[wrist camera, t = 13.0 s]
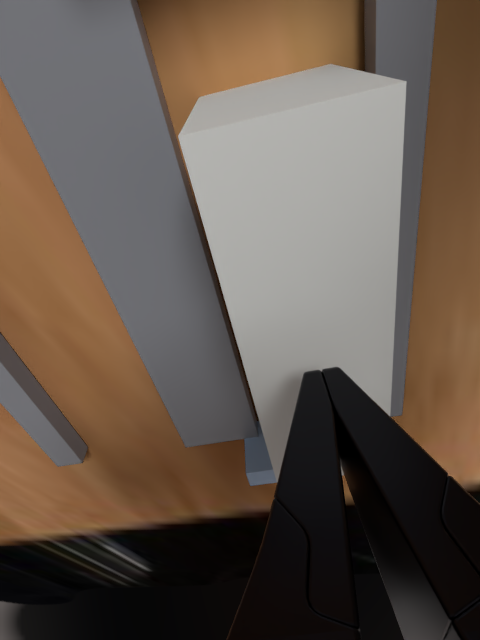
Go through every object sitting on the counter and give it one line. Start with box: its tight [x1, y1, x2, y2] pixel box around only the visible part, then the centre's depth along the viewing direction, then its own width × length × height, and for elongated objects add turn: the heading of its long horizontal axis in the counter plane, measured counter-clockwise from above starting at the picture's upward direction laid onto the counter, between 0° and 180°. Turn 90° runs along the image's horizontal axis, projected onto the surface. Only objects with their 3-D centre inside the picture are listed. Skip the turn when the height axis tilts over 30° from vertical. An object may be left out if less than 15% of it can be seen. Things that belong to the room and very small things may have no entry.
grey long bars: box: [0, 0, 437, 467], centre depth 15 cm, size 19×20×1 cm
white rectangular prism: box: [178, 64, 407, 482], centre depth 12 cm, size 4×12×6 cm, turn 12°
